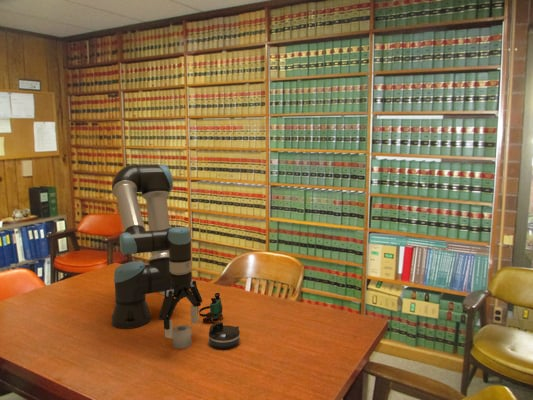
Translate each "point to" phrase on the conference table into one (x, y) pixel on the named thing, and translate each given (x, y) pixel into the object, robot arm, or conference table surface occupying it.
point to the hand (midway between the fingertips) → (182, 330)
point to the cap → (182, 336)
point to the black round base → (223, 336)
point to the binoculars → (213, 310)
